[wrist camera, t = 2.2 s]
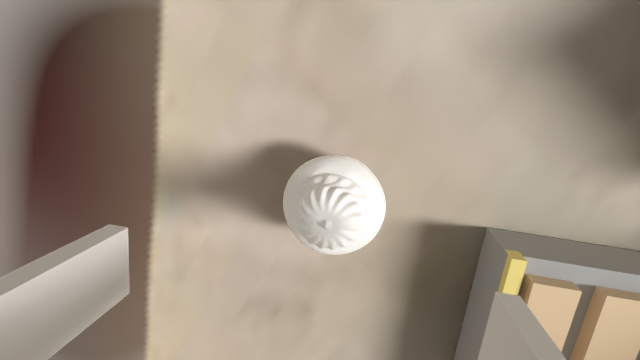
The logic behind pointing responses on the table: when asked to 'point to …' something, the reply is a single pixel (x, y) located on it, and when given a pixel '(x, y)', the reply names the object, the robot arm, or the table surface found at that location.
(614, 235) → the table surface
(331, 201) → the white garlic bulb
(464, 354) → the dock
